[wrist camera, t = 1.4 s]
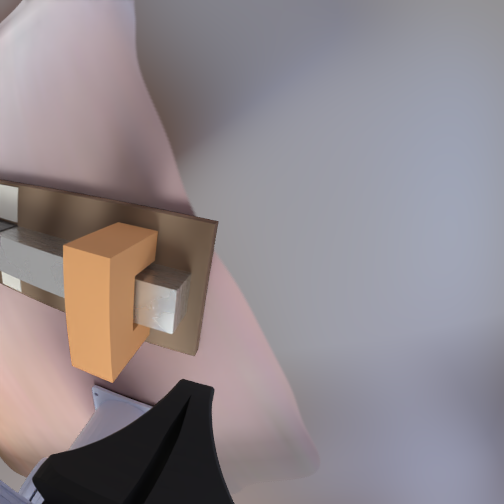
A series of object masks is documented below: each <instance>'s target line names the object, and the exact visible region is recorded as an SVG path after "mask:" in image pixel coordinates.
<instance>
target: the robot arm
mask: <svg viewBox="0 0 504 504" xmlns="http://www.w3.org/2000/svg"><path fill="white" fill-rule="evenodd" d="M92 393H93V399H94V405H95V410H96V411H95V413H94V414H93V416H92V417H91V418H90V420H89V421H88V423H87V424H86V425H85V427H84V428H83V430H82V431H81V432H80V434H79V435H78V437H77V438H76V440H75V441H74V442H73V444H72V445H71V447H70V448H69V450H68V451H65V452H61V453H57V454H52V455H50V456H49V457H43V458H42V459H41V460H40V461H39V462H38V463H37V465H36V466H35V467H34V469H33V470H32V471H31V473H30V474H29V476H28V477H27V479H26V480H25V482H24V483H23V485H22V487H21V488H20V490H19V492H18V493H17V492H15V491H14V490H13V489H11V488H10V487H9V486H8V485H6V484H5V483H4V482H2V481H1V480H0V504H234V502H233V500H232V498H231V495H230V493H229V491H228V488H227V485H226V483H225V480H224V478H223V475H222V471H221V468H220V465H219V461H218V457H217V453H216V448H215V443H214V437H213V428H212V401H213V396H214V388H213V387H211V386H207V385H203V384H199V383H195V382H192V381H188V380H185V379H182V380H180V381H179V382H178V383H177V384H176V385H175V387H174V388H173V389H172V390H171V391H170V392H169V393H168V394H167V395H166V396H165V397H163V398H162V399H161V400H160V401H159V402H158V403H157V404H156V405H154V406H150V405H147V404H144V403H141V402H138V401H135V400H133V399H130V398H127V397H125V396H122V395H119V394H117V393H114V392H112V391H109V390H107V389H104V388H102V387H100V386H97V385H94V386H93V387H92Z"/></svg>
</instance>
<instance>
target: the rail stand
mask: <svg viewBox="0 0 504 504" xmlns="http://www.w3.org/2000/svg"><path fill="white" fill-rule="evenodd" d="M117 222H120V223H124V224H129V225H133V226H138V227H142V228H147V229H151V230H155V231H158V237H157V246H156V255H155V261H154V262H152V263H151V264H150V265H149V266H147V267H146V268H145V269H143V270H142V271H141V272H140V273H138V274H137V275H136V276H135V285H134V308H133V323H137V324H140V325H143V326H146V327H149V328H150V334H149V336H148V337H147V338H146V340H145V342H148V343H151V344H155V345H158V346H161V347H164V348H168V349H171V350H175V351H178V352H181V353H185V354H189V355H192V356H195V355H196V352H197V350H198V346H199V339H200V332H201V326H202V319H203V312H204V306H205V299H206V293H207V286H208V280H209V274H210V268H211V262H212V256H213V250H214V244H215V238H216V233H217V226H218V221H214V220H210V219H205V218H200V217H195V216H191V215H186V214H181V213H176V212H171V211H166V210H162V209H157V208H152V207H147V206H142V205H137V204H132V203H126V202H121V201H116V200H111V199H106V198H101V197H95V196H90V195H85V194H79V193H74V192H69V191H63V190H58V189H52V188H46V187H41V186H35V185H29V184H24V183H18V182H12V181H6V180H0V283H1V284H3V285H5V286H7V287H9V288H11V289H13V290H15V291H18V292H20V293H22V294H24V295H26V296H28V297H30V298H33V299H35V300H37V301H39V302H42V303H44V304H46V305H49V306H51V307H53V308H56V309H58V310H60V311H63V312H65V313H66V310H65V296H64V276H63V245H64V244H67V243H69V242H71V241H74V240H76V239H78V238H81V237H83V236H85V235H88V234H90V233H93V232H95V231H97V230H100V229H102V228H105V227H107V226H110V225H112V224H115V223H117Z"/></svg>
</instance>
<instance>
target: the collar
mask: <svg viewBox="0 0 504 504" xmlns="http://www.w3.org/2000/svg"><path fill="white" fill-rule="evenodd" d="M157 237H158V231H155V230H151V229H147V228H142V227H138V226H133V225H129V224H124V223H120V222H117V223H115V224H112V225H110V226H107V227H105V228H102V229H100V230H97V231H95V232H93V233H90V234H88V235H85V236H83V237H81V238H78V239H76V240H74V241H71V242H69V243H67V244H64V245H63V276H64V296H65V310H66V322H67V331H68V340H69V348H70V355H71V362H72V366H74V367H76V368H79V369H81V370H83V371H85V372H88V373H90V374H92V375H95V376H97V377H99V378H102V379H104V380H107V381H109V382H112V383H113V382H114V381H115V379H116V378H117V377H118V375H119V374H120V373H121V371H122V370H123V369H124V367H125V366H126V365H127V363H128V362H129V361H130V359H131V358H132V357H133V355H134V354H135V353H136V351H137V350H138V349H139V347H140V346H141V345H142V344H143V342H144V341H145V340H146V338H147V337H148V336H149V334H150V328H149V327H146V326H143V325H140V324H137V323H133V308H134V285H135V276H136V275H137V274H138V273H140V272H141V271H142V270H143V269H145V268H146V267H147V266H149V265H150V264H151V263H152V262H154V261H155V255H156V246H157Z"/></svg>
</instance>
